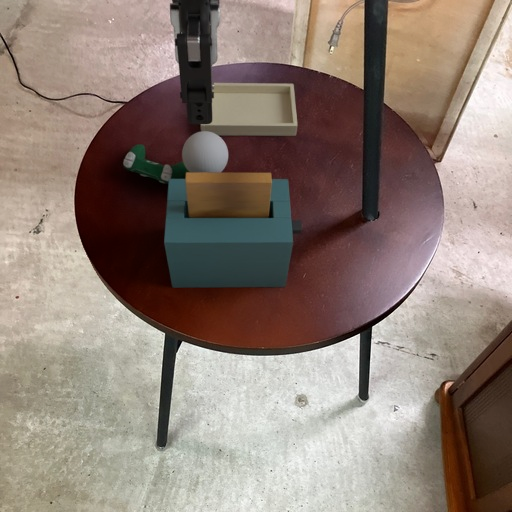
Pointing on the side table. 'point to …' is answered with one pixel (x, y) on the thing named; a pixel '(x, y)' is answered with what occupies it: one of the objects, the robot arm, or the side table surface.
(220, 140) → the light bulb
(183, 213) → the toaster
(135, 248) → the side table surface
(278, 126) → the tray
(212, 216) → the toast
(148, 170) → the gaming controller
